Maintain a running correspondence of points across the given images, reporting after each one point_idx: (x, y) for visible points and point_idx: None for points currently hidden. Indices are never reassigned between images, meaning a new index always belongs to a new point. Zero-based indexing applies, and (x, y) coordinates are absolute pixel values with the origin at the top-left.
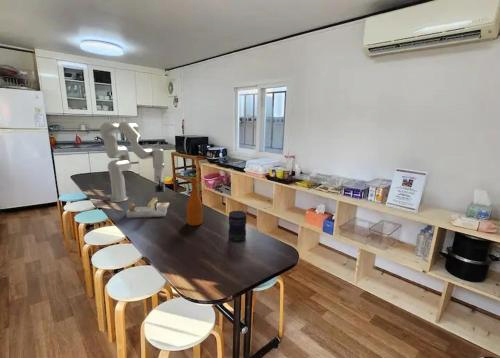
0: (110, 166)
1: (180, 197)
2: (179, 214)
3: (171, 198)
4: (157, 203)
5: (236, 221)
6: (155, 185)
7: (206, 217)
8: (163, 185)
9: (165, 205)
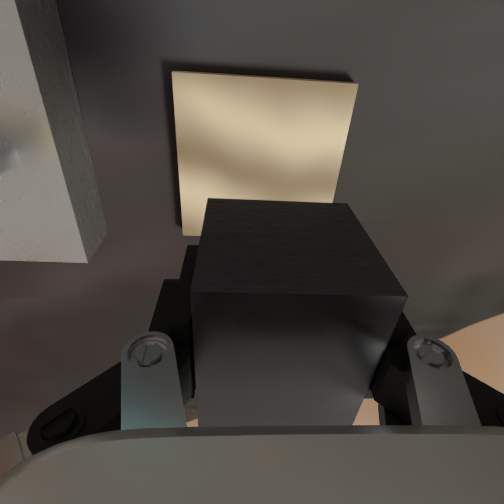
0: None
1: (461, 302)
2: (55, 314)
3: (472, 240)
4: (326, 126)
5: None
6: (212, 301)
7: None
8: None
9: None
